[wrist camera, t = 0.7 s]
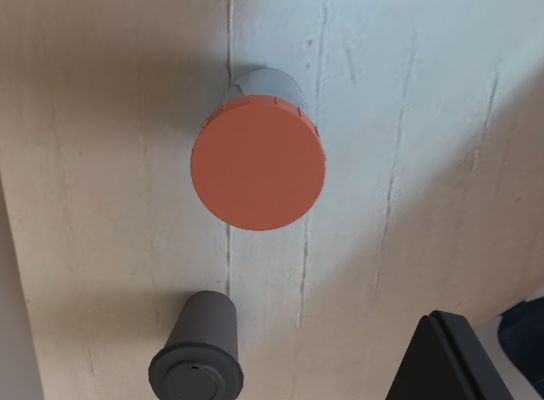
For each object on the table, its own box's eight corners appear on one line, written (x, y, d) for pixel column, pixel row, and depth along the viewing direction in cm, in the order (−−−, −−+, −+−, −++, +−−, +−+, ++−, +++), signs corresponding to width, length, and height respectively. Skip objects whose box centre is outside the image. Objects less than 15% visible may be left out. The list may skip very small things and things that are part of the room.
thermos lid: (171, 150, 27) (161, 164, 25) (265, 66, 25) (264, 73, 23) (254, 234, 30) (252, 254, 27) (347, 162, 28) (353, 177, 25)
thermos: (207, 105, 39) (171, 162, 26) (268, 49, 37) (264, 80, 24) (261, 163, 41) (253, 243, 28) (322, 113, 39) (344, 174, 26)
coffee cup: (229, 268, 45) (217, 338, 36) (262, 330, 48) (258, 409, 39) (155, 294, 46) (126, 368, 37) (192, 352, 49) (172, 434, 40)
